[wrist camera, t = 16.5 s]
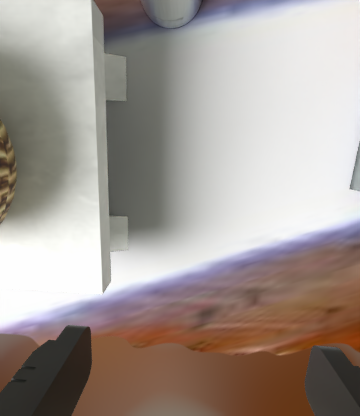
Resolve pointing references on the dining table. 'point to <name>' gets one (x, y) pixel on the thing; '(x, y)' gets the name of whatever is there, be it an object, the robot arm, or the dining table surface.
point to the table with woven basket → (56, 147)
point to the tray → (356, 173)
